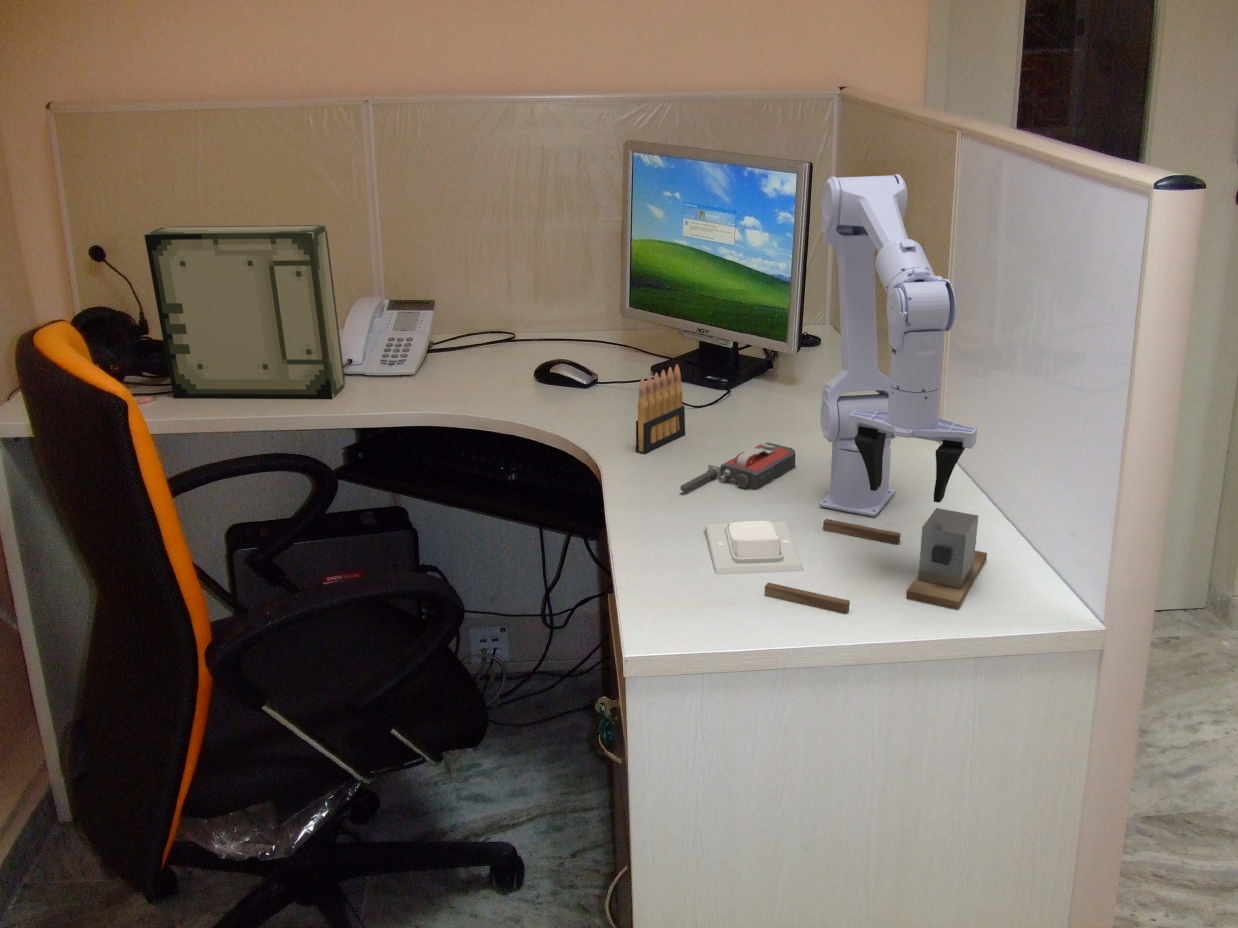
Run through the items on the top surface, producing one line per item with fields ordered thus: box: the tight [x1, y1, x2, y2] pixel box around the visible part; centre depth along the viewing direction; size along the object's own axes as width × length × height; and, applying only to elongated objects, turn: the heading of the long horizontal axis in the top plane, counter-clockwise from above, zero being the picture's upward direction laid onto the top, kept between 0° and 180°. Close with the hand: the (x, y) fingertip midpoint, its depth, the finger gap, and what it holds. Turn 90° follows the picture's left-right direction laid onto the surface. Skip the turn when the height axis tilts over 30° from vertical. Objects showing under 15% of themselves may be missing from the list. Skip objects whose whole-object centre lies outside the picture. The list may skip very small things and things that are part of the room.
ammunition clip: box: [635, 363, 686, 455], centre depth 181 cm, size 11×2×12 cm, turn 140°
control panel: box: [144, 224, 346, 400], centre depth 208 cm, size 30×8×30 cm, turn 85°
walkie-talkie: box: [680, 442, 796, 492], centre depth 168 cm, size 9×4×20 cm
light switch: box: [704, 520, 804, 575], centre depth 147 cm, size 11×4×13 cm
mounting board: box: [905, 550, 988, 611], centre depth 138 cm, size 14×6×1 cm, turn 151°
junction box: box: [918, 507, 979, 590], centre depth 136 cm, size 7×5×7 cm
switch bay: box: [764, 518, 901, 614], centre depth 142 cm, size 21×10×1 cm, turn 151°
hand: (906, 493), depth 138 cm, fingers open, 7 cm apart
